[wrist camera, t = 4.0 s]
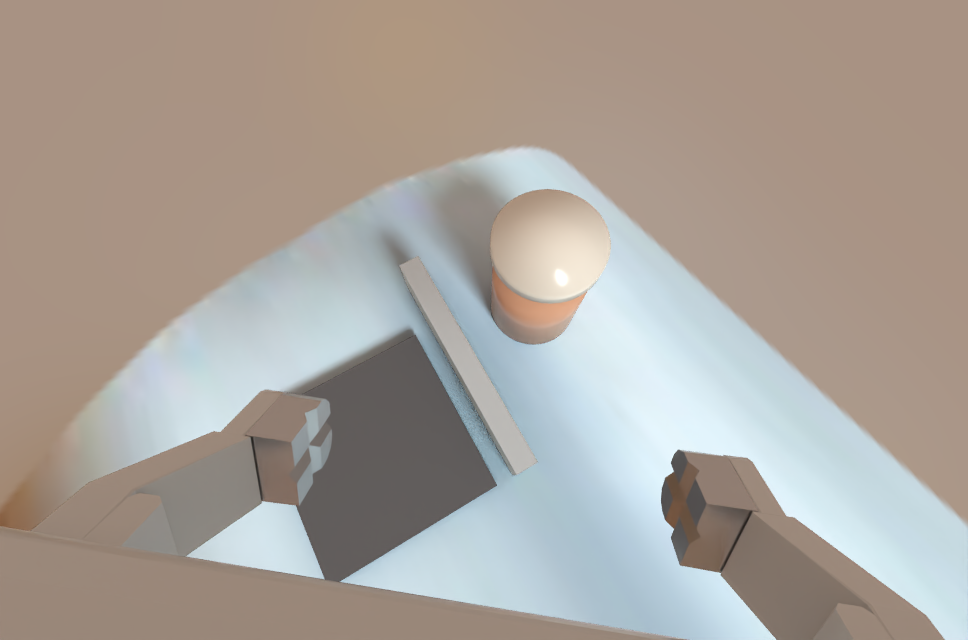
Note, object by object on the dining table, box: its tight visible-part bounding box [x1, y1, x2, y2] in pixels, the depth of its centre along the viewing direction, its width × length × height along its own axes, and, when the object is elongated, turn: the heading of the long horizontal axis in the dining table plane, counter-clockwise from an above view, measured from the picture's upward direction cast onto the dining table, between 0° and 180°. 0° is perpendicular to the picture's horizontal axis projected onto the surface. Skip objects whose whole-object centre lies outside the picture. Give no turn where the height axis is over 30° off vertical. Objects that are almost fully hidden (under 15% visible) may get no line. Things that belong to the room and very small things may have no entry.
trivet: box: [296, 335, 497, 582], centre depth 30 cm, size 12×12×1 cm
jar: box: [490, 189, 611, 344], centre depth 30 cm, size 7×7×10 cm
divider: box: [399, 256, 538, 475], centre depth 31 cm, size 2×16×4 cm, turn 29°
